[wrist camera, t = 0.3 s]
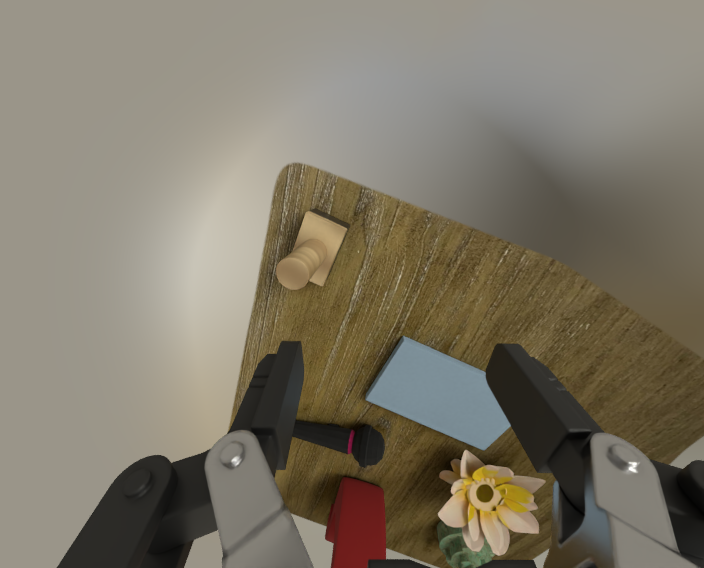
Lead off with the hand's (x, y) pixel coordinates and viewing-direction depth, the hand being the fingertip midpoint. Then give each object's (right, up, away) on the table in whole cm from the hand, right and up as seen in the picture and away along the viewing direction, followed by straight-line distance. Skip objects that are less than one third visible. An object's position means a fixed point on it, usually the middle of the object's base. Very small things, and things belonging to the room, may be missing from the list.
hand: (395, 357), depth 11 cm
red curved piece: (-1, -37, +38) cm, 53 cm away
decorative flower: (+20, -28, +31) cm, 46 cm away
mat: (+12, -13, +26) cm, 31 cm away
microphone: (-6, -20, +32) cm, 38 cm away
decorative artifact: (+20, -45, +39) cm, 62 cm away
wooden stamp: (-5, +8, +20) cm, 22 cm away
